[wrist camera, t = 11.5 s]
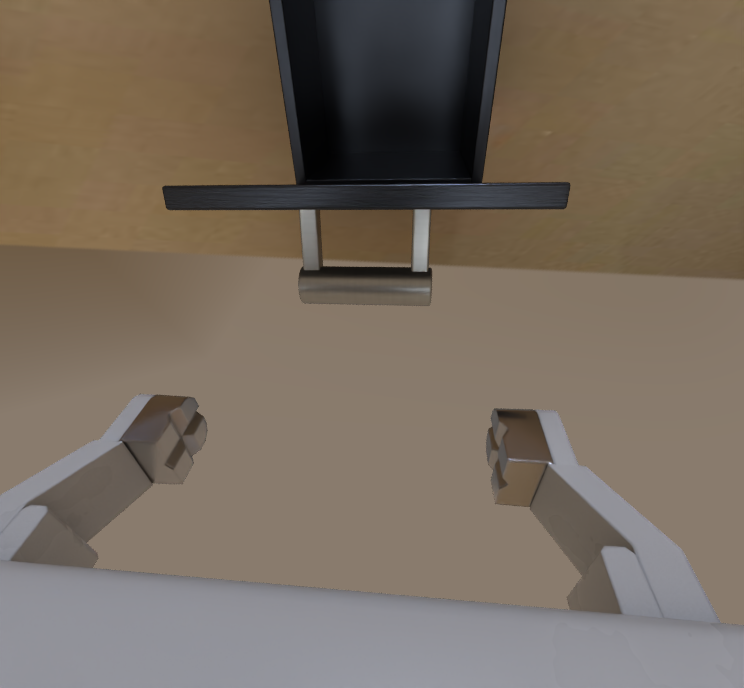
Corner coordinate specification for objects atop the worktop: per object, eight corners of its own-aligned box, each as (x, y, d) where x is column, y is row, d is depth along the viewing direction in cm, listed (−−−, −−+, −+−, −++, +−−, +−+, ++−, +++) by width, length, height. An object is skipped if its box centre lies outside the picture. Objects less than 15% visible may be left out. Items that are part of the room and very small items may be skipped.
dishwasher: (297, -80, 27) (249, -130, 19) (495, -95, 26) (528, -155, 18) (322, 160, 36) (297, 191, 29) (467, 158, 35) (481, 190, 27)
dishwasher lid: (160, 185, 13) (186, 318, 15) (572, 182, 12) (546, 327, 14) (295, 187, 28) (300, 253, 30) (482, 185, 27) (476, 254, 29)
